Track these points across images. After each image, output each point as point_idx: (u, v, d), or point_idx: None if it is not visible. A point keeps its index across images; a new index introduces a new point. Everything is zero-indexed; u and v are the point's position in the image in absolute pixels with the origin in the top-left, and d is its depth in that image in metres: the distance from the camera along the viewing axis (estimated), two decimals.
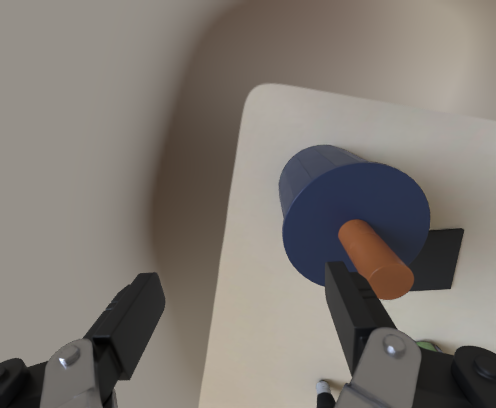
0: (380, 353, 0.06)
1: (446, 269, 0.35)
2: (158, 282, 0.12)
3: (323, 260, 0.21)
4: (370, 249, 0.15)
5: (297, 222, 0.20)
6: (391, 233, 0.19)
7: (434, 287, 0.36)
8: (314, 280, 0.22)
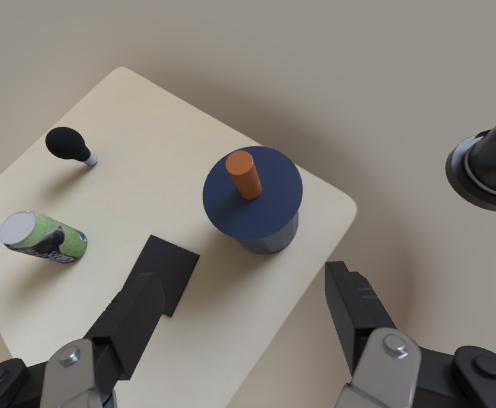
0: (380, 353, 0.06)
1: None
2: (158, 282, 0.12)
3: None
4: (256, 170, 0.23)
5: (276, 159, 0.28)
6: (238, 211, 0.27)
7: (130, 277, 0.40)
8: (227, 155, 0.30)
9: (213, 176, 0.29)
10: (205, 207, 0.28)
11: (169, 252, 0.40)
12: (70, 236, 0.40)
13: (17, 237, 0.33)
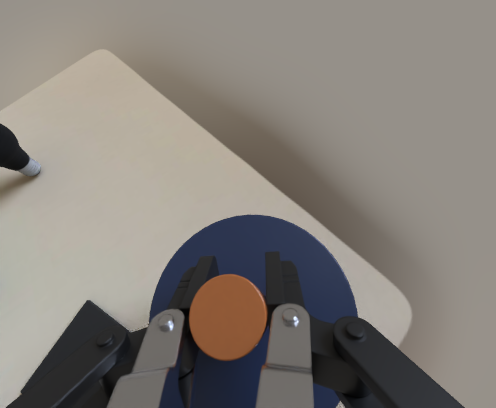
0: (282, 327, 0.07)
1: None
2: (216, 265, 0.12)
3: (234, 252, 0.15)
4: None
5: (306, 252, 0.14)
6: (216, 362, 0.13)
7: (40, 371, 0.25)
8: (213, 226, 0.16)
9: (179, 265, 0.15)
10: None
11: None
12: None
13: None
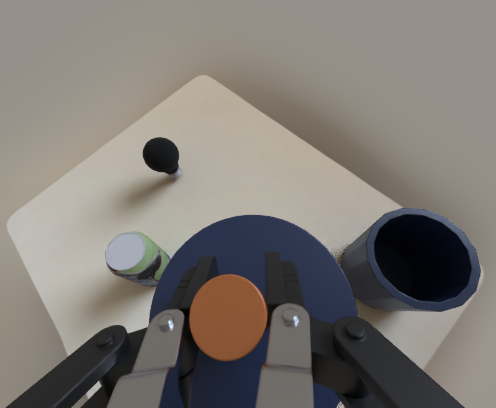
0: (282, 327, 0.07)
1: None
2: (216, 265, 0.12)
3: (234, 252, 0.15)
4: None
5: (306, 252, 0.14)
6: (216, 362, 0.13)
7: None
8: (213, 226, 0.16)
9: (179, 265, 0.15)
10: None
11: None
12: (164, 260, 0.36)
13: (127, 263, 0.30)
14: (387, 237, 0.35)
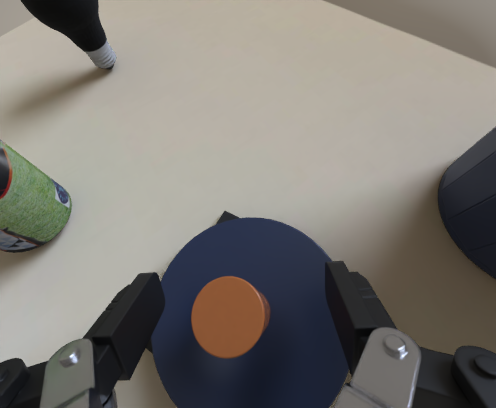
0: (380, 353, 0.06)
1: None
2: (158, 282, 0.12)
3: (233, 254, 0.15)
4: None
5: (304, 254, 0.15)
6: (216, 361, 0.13)
7: None
8: (213, 229, 0.16)
9: (180, 267, 0.15)
10: (153, 335, 0.14)
11: None
12: (30, 187, 0.15)
13: None
14: None
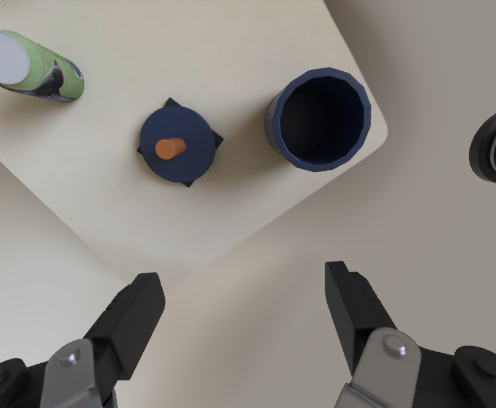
0: (380, 353, 0.06)
1: None
2: (158, 282, 0.12)
3: (172, 122, 0.36)
4: (178, 150, 0.33)
5: (201, 127, 0.36)
6: (166, 159, 0.38)
7: None
8: (163, 109, 0.36)
9: (149, 124, 0.36)
10: (141, 148, 0.37)
11: None
12: (68, 75, 0.31)
13: (10, 76, 0.25)
14: (317, 92, 0.34)
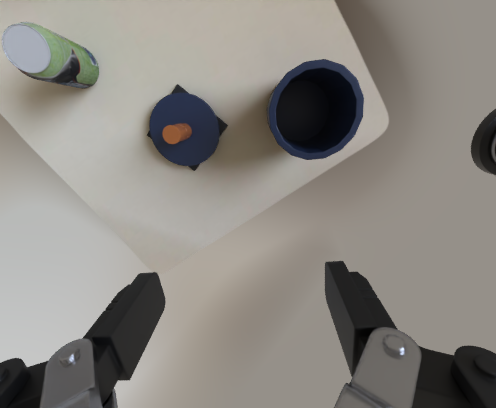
0: (380, 353, 0.06)
1: None
2: (158, 282, 0.12)
3: (179, 108, 0.38)
4: (184, 136, 0.36)
5: (206, 114, 0.38)
6: (173, 144, 0.41)
7: None
8: (171, 95, 0.38)
9: (158, 110, 0.39)
10: (151, 133, 0.40)
11: None
12: (84, 63, 0.34)
13: (34, 65, 0.28)
14: (318, 81, 0.35)
